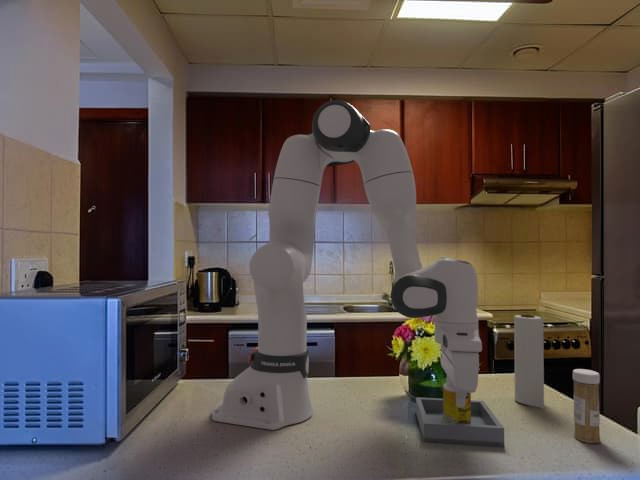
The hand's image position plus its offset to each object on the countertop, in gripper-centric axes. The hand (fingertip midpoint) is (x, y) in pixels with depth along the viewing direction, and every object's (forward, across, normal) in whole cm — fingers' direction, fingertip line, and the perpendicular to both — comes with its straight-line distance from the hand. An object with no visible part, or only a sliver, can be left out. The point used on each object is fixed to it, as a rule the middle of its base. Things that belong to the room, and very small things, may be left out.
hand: (456, 400), depth 88 cm
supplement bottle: (+5, 0, 0) cm, 5 cm away
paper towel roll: (+6, -18, +21) cm, 28 cm away
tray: (+6, 0, 0) cm, 6 cm away
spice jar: (+6, +1, +25) cm, 26 cm away
